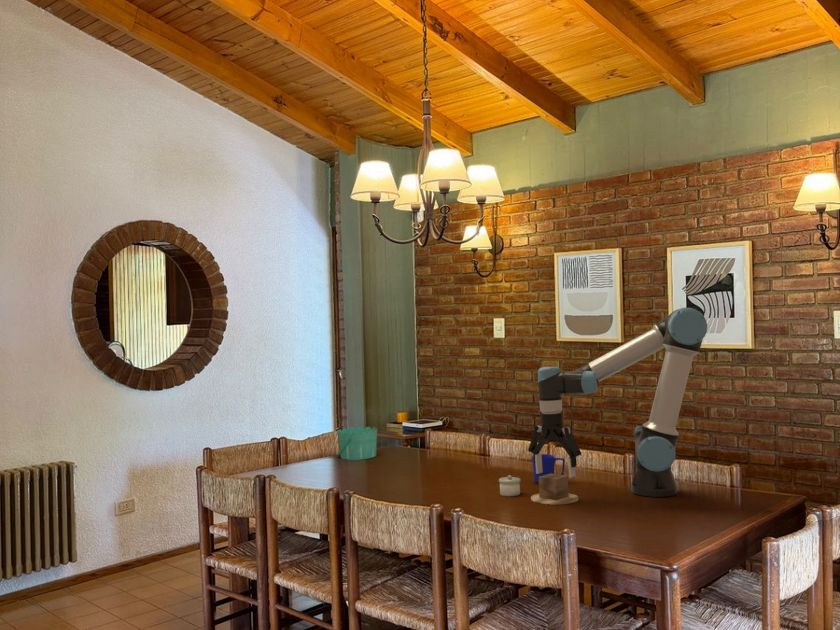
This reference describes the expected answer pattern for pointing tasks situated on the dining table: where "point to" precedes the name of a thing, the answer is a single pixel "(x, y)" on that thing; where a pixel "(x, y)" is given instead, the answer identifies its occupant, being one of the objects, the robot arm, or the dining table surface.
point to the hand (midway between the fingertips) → (555, 475)
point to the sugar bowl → (509, 486)
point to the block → (553, 486)
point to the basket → (357, 443)
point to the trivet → (567, 500)
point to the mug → (546, 466)
